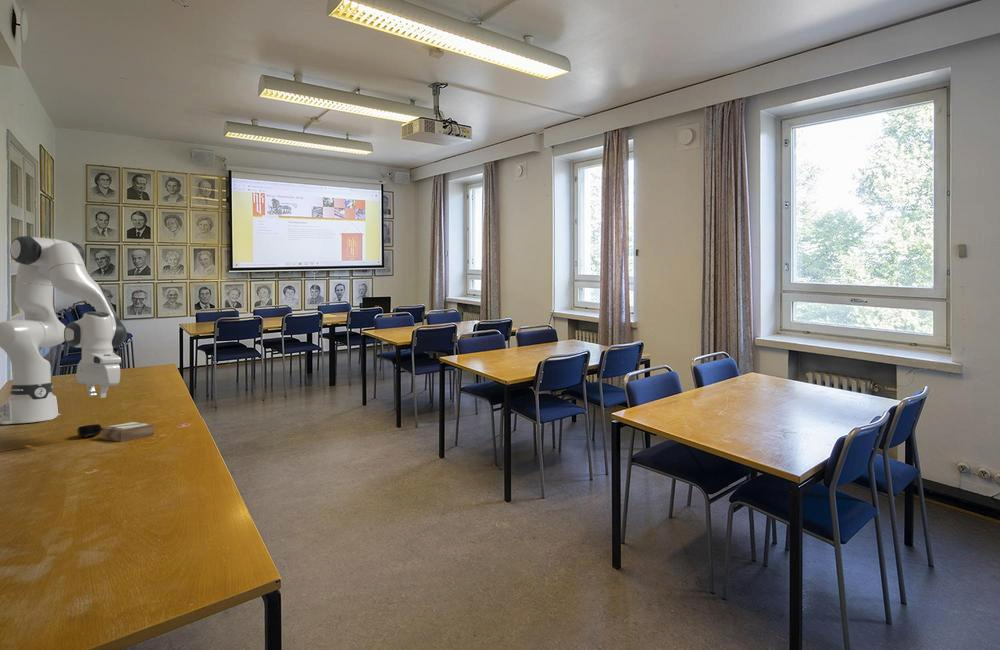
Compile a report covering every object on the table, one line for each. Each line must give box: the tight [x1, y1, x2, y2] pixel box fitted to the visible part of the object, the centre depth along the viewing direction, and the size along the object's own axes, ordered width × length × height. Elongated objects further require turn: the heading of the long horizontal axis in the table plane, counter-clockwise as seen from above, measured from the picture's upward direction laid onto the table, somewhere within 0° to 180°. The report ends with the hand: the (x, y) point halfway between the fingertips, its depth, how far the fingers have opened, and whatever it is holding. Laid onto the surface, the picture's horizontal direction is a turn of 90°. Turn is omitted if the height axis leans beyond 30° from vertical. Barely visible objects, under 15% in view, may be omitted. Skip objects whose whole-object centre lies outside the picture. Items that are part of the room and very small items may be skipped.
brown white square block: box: [101, 421, 155, 443], centre depth 187 cm, size 11×11×4 cm
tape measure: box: [76, 423, 103, 438], centre depth 187 cm, size 7×7×4 cm
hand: (97, 396), depth 187 cm, fingers open, 5 cm apart
